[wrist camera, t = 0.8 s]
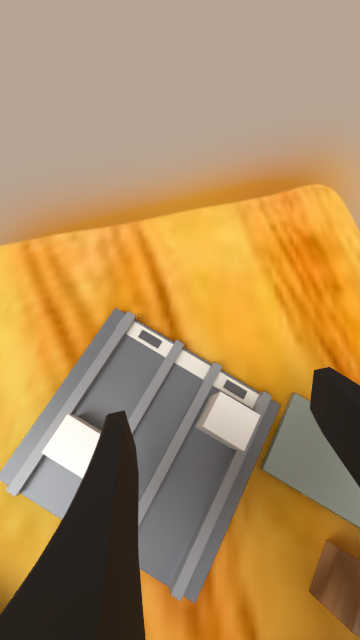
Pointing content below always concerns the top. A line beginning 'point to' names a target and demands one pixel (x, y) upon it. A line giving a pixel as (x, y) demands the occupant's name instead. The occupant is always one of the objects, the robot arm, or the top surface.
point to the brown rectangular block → (338, 585)
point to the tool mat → (311, 462)
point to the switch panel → (151, 446)
